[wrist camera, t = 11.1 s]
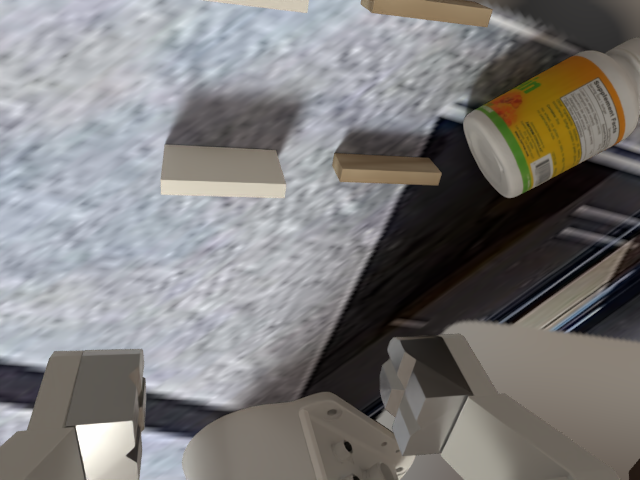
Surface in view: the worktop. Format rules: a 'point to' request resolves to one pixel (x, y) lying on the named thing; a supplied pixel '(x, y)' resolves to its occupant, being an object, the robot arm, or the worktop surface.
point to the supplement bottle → (557, 118)
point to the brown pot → (635, 471)
